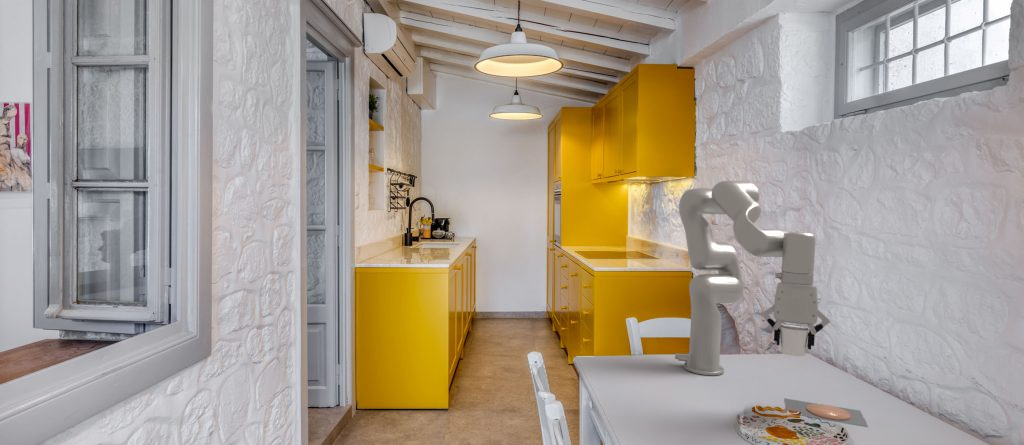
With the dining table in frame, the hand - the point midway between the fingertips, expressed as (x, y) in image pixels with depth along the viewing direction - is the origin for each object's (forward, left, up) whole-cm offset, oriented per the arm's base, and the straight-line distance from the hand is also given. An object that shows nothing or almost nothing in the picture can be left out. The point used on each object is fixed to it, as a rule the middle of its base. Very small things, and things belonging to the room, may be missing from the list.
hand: (793, 345), depth 146 cm
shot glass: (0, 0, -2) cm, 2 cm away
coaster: (+9, +1, -17) cm, 19 cm away
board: (+8, +1, -18) cm, 20 cm away
